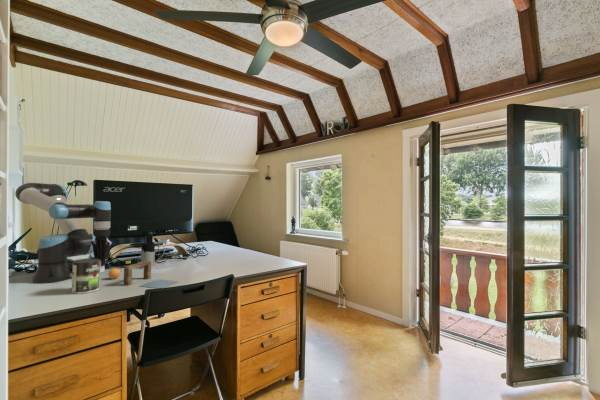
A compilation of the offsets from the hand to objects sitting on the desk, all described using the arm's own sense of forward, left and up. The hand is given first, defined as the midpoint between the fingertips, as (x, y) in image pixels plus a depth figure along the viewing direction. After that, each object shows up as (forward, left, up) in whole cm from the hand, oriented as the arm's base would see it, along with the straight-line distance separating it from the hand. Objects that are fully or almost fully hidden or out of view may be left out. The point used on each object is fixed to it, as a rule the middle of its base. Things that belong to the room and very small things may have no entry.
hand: (101, 271), depth 156 cm
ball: (+9, 0, 0) cm, 9 cm away
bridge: (+25, 0, -3) cm, 25 cm away
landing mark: (+39, 0, -3) cm, 39 cm away
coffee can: (+15, -20, -3) cm, 25 cm away
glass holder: (+6, +30, -3) cm, 31 cm away
